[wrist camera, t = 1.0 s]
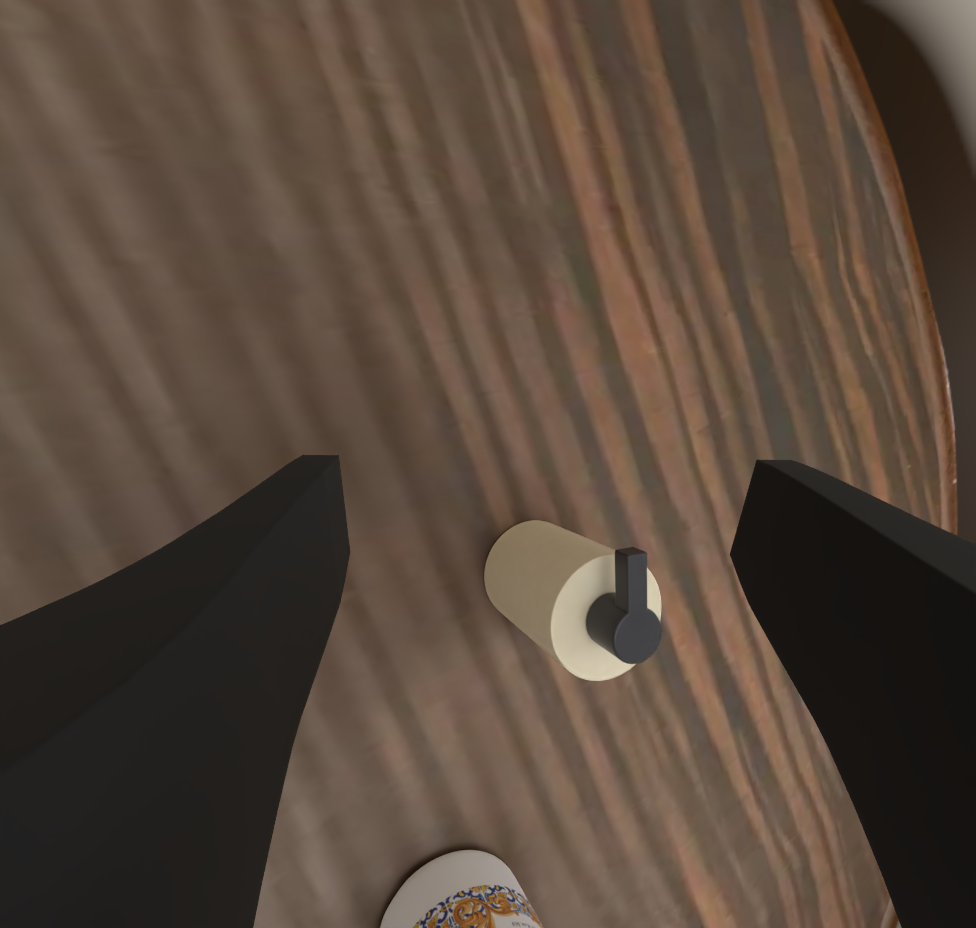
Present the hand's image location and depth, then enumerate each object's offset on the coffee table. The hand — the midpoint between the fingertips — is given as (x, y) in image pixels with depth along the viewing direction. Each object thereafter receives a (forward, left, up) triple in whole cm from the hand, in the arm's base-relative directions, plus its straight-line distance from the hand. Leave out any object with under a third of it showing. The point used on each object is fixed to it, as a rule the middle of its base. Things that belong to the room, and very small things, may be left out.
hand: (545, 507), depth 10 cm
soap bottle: (-6, -7, -15) cm, 18 cm away
